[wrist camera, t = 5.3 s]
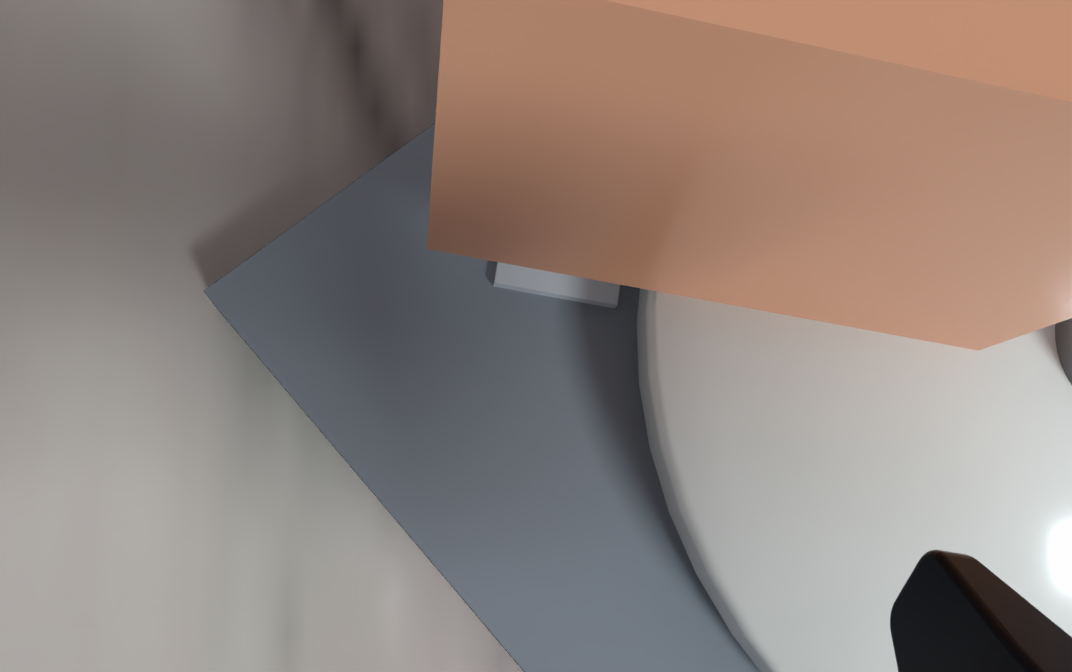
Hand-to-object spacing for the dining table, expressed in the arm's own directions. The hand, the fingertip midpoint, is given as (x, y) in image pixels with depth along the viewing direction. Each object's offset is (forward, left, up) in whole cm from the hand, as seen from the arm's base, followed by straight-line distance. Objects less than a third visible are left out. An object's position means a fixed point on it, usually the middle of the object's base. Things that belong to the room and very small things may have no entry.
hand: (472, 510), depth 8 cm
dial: (+12, -6, -8) cm, 15 cm away
